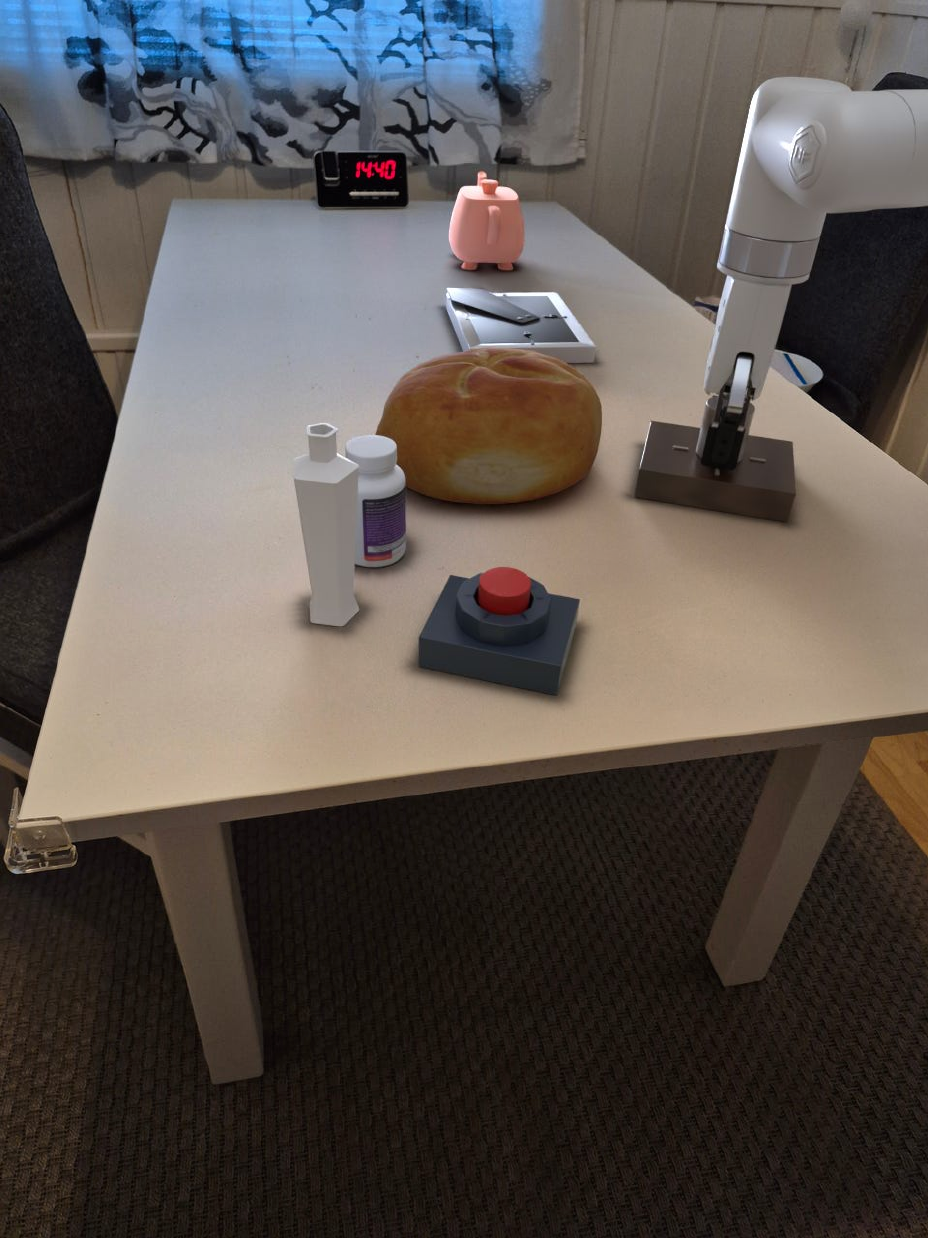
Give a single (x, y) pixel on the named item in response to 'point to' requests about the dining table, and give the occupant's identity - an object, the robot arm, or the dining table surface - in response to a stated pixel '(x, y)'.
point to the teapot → (487, 225)
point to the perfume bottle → (328, 524)
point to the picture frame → (518, 323)
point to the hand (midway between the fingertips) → (719, 449)
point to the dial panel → (717, 474)
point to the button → (504, 591)
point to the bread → (493, 426)
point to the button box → (499, 637)
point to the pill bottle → (378, 501)
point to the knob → (708, 419)
